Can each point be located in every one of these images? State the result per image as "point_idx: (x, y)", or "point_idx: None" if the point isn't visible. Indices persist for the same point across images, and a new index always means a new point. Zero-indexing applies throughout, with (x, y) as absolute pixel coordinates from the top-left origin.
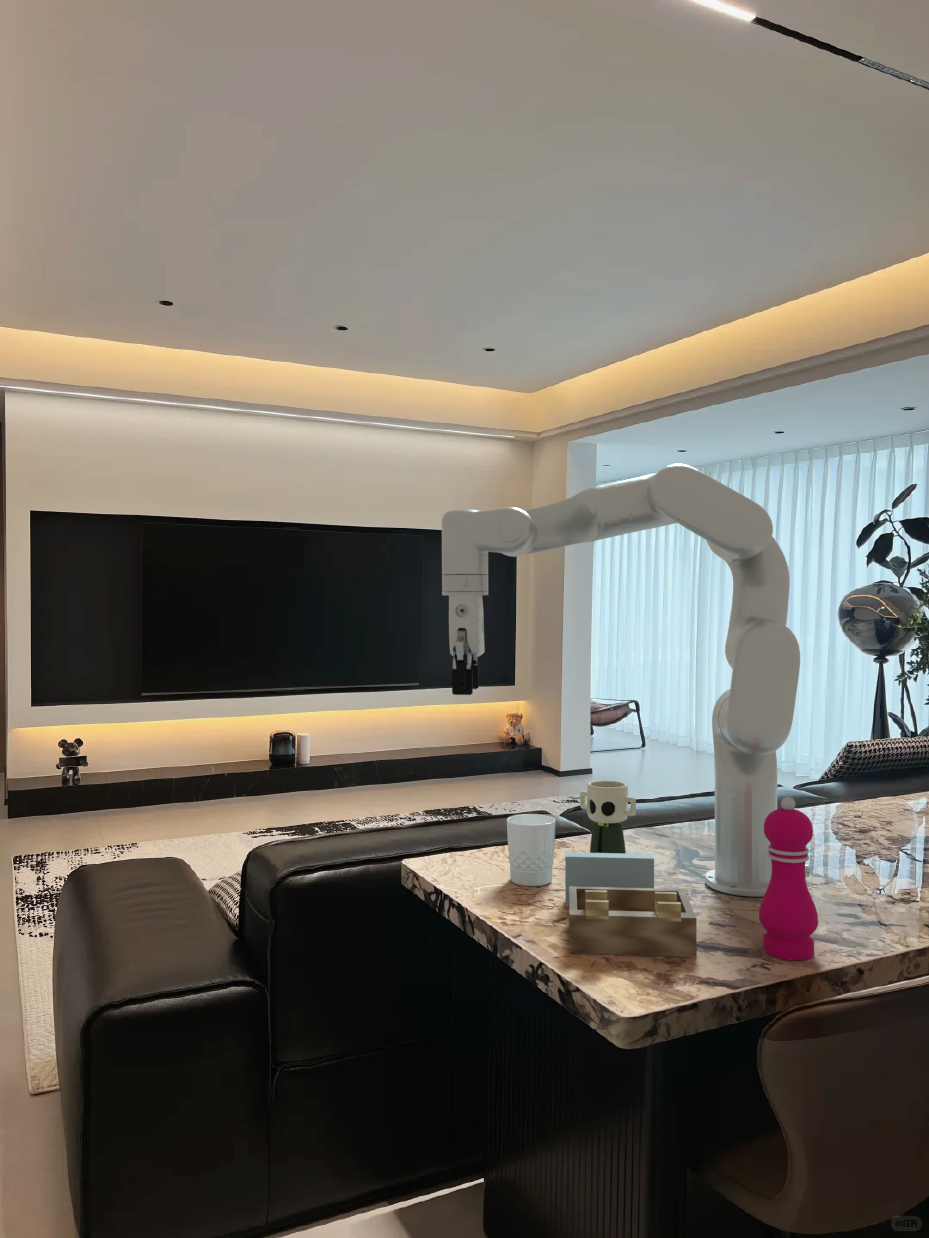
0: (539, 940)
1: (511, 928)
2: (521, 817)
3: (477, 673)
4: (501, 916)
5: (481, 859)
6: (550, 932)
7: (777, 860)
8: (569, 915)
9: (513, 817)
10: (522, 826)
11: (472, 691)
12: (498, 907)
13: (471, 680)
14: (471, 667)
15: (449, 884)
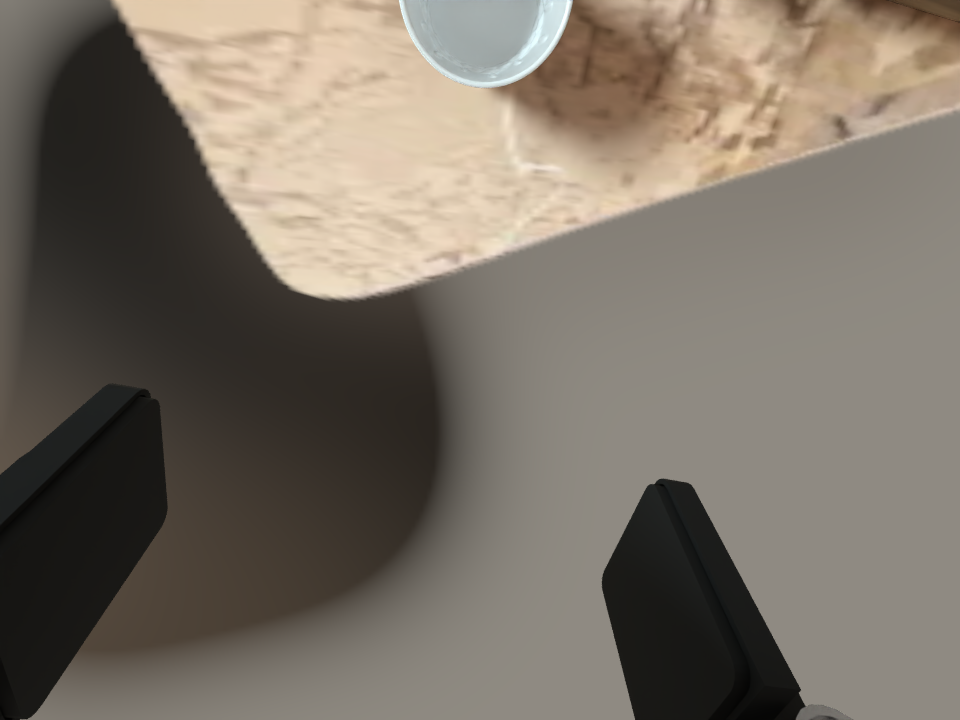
0: (886, 83)
1: (796, 132)
2: (409, 14)
3: (34, 493)
4: (721, 141)
5: (280, 123)
6: (855, 46)
7: None
8: (950, 1)
9: (426, 51)
10: (558, 41)
11: (682, 490)
12: (663, 138)
13: (735, 578)
14: (12, 619)
15: (484, 227)
